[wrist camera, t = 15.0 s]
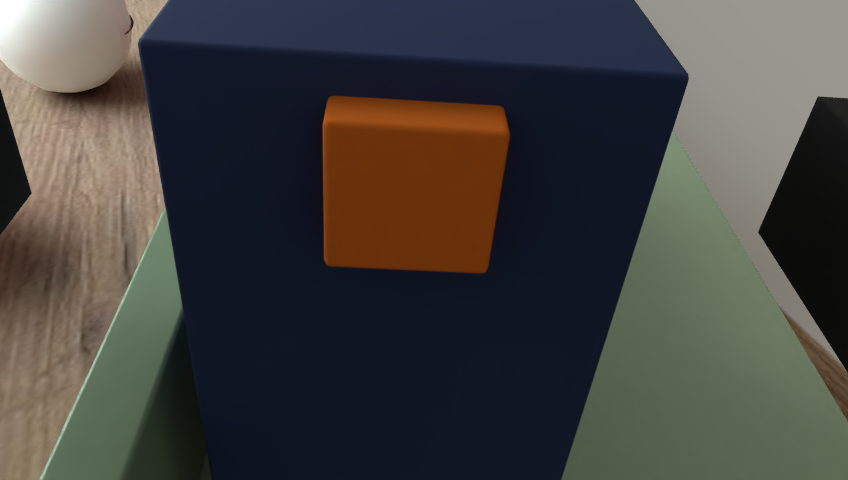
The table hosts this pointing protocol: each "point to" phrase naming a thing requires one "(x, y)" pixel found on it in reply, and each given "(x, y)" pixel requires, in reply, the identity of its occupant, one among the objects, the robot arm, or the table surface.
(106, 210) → the table surface
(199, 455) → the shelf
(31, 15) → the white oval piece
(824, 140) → the robot arm
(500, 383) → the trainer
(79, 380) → the table surface
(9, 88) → the table surface
